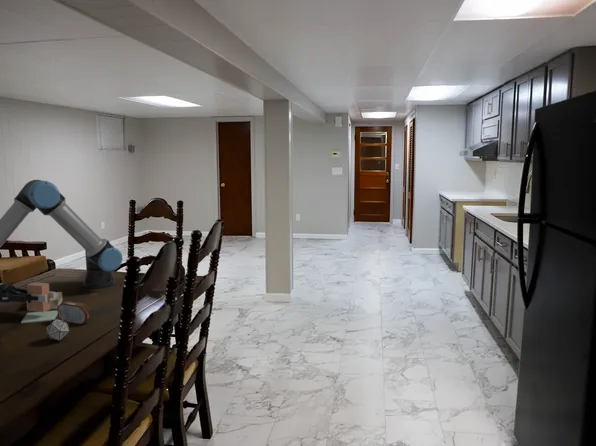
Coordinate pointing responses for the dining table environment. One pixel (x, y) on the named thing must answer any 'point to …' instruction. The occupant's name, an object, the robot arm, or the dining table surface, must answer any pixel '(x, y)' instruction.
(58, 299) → the beige stone slab
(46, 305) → the tan upright block
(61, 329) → the game die
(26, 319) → the mat
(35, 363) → the dining table surface
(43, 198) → the robot arm
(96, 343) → the dining table surface
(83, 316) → the portable speaker
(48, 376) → the dining table surface
